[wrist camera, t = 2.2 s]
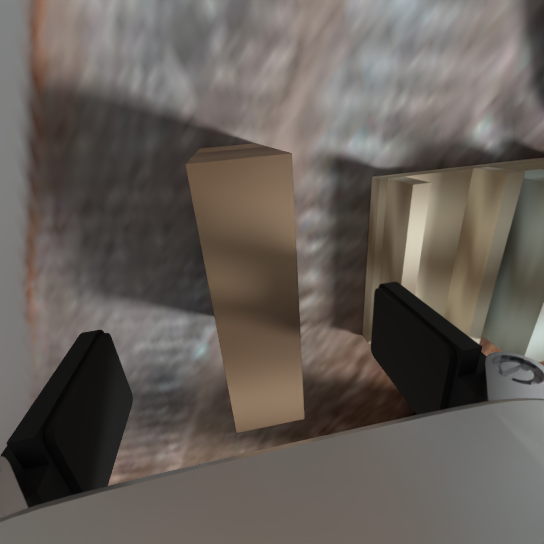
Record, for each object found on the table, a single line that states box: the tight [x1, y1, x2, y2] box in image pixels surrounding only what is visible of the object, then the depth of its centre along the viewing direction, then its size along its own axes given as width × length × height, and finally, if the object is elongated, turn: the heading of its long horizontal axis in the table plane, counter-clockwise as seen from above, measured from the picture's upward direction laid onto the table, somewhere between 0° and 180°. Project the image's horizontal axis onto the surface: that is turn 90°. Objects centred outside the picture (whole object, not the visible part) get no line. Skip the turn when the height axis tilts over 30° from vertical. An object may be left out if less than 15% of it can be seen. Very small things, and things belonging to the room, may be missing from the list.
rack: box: [362, 158, 544, 362], centre depth 19 cm, size 12×13×6 cm
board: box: [185, 143, 304, 433], centre depth 15 cm, size 11×3×9 cm, turn 5°
